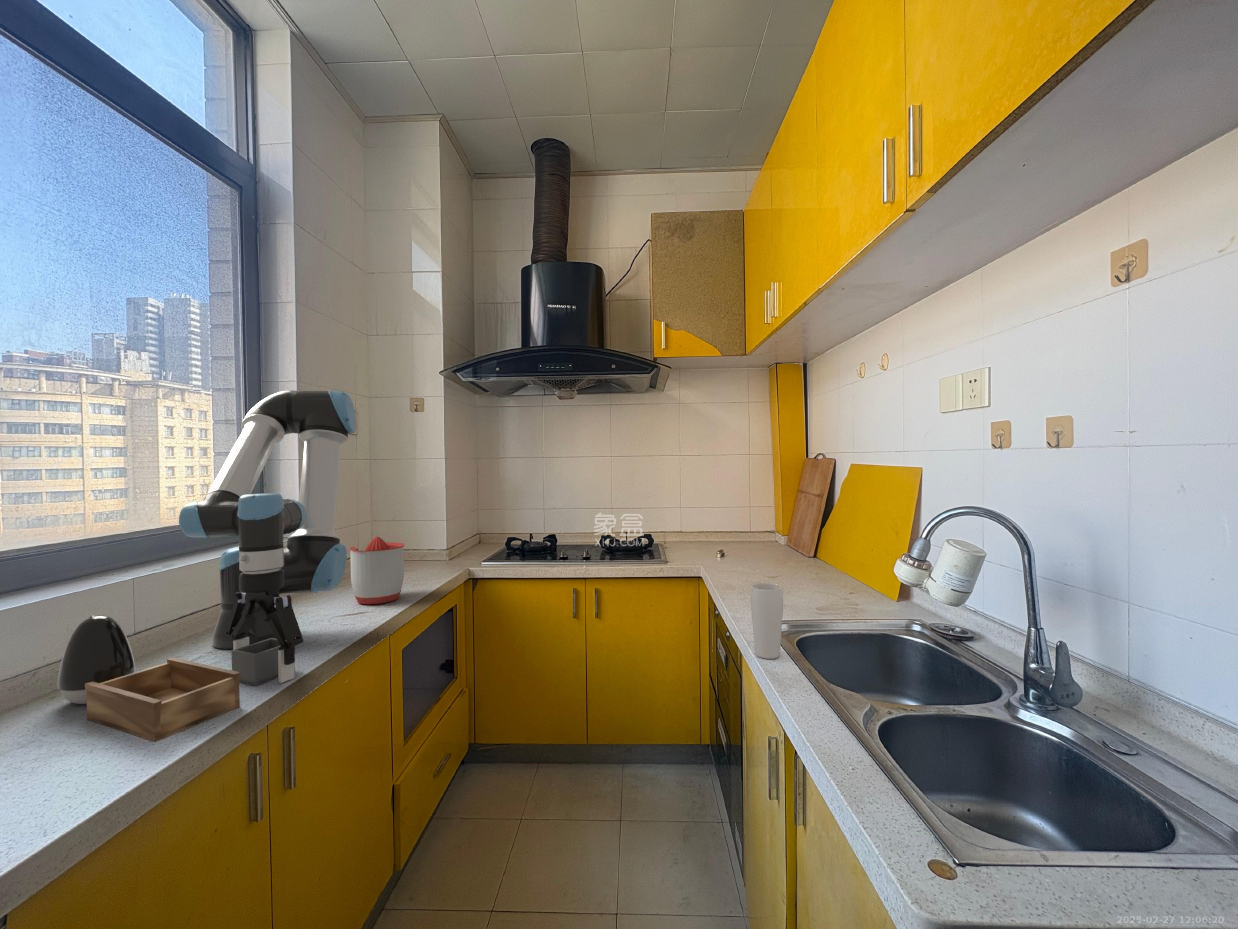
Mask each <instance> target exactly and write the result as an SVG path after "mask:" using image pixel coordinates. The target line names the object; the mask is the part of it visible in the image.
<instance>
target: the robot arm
mask: <svg viewBox="0 0 1238 929" xmlns="http://www.w3.org/2000/svg"><path fill="white" fill-rule="evenodd" d="M241 430H242V431H241V433H240V435H239V437H238V438H237V440H236V442H235V443H234V445H233V447H232V448H231V450H230V453H229V454H228V456H227V457H226V460H225V461H224V463H223V465H222V467H221V468H220V470H219V472H218V474H217V475H216V477H215V479H214V481H213V483H212V485H211V486H210V488H209V490H208V492H207V493H206V495H205V497H203V500H202V501H195V502H189V503H186V504H184V505H183V506H182V508H181V510H180V512H179V515H178V526H179V529H180V530H181V531H182V533H183V534H184V535H185V536H187V537H188V538H201V539H202V538H206V539H210V538H225V537H238V546H235V547H231V548H228V549H225V550H224V551H223V552H222V553H221V555H220V560H219V561H220V562H219V568H218V570H219V582H220V583H219V584H220V587H219V588H220V613H219V616H218V619H217V622H216V625H215V628H214V631H213V633H212V636H211V637H212V639H211V640H212V643H211V644H212V647H214V648H216V649H225V650H231V649H232V650H235V649H238V648H241V647H244V646H248V645H251V644H254V643H257V642H260V641H263V640H266V639H270V638H275V639H277V640H278V642H279V644H280V646H281V647H279V649H278V678H277V679H278V683H280V684H282V683H284V682H288V681H289V680H292V679H295V671H294V662H296V646H297V645H300V644H303V643H304V638H303V635H302V632H301V629H300V626H299V622H298V620H297V617H296V614H295V611H294V608H293V605H292V596H291V595H292V594H304V593H305V594H307V593H313V594H318V593H322V592H323V593H324V592H330V591H333V590H335V589H336V588H337V587H338V586H339V585H340V583H341V581H342V580H343V577H344V575H345V572H346V567H347V562H348V556H347V554H348V553H347V548H346V546H345V545H344V544H343V543H341V542H340V541H341V538H340V537H339V536H338V535H337V534H336V533H335V523H336V522H335V521H336V520H335V519H336V511H337V510H336V509H337V497H338V485H339V473H340V463H341V462H340V460H341V450H342V446H344V445H345V444H346V443H348V439H349V438H348V437H349V435H352V434H355V433H356V430H357V416H356V410H355V406H354V403H353V401H352V399H351V396H350V395H349V394H348V393H347V392H345V391H336V390H330V389H329V390H293V389H292V390H289V389H288V390H282V391H277V392H276V393H273V394H270V395H268V396H267V397H265V398H263V399H262V400H260V401H259V402H257V403H256V404H255V405H254V406H253V407H252V408H250V410H249V411H248V412H247V413H246V415H245V417H244V418H243V420H242V421H241ZM289 434H298V438H299V439H300V440H301V441H302V443H304V445H303V446H304V447H303V455H302V457H303V458H302V464H301V474H300V475H301V476H300V483H299V484H300V485H299V495H298V500H295V499H289V498H287V499H284V498H283V496H282V495H281V494H280V493H276V492H273V493H272V492H271V493H269V492H268V493H252V492H253V490H254V488H255V485H256V484H257V482H258V480H259V478H260V476H261V473H262V472H263V469H264V468H265V466H266V464H267V461H268V459H269V457H270V456H271V453H272V452H273V449H274V447H275V445H276V444H277V443H280V442H281V441H282V440H283V439H284V437H285V435H289ZM291 533H292V534H291ZM287 534H291V535H289V536H288V537H287V541H286V542H287V543H286V546H284V535H287ZM290 594H291V595H290ZM281 595H283V596H281ZM285 640H286V641H287V642H286V641H285Z"/></svg>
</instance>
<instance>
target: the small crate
mask: <svg viewBox="0 0 1238 929" xmlns="http://www.w3.org/2000/svg"><path fill="white" fill-rule="evenodd" d="M285 641H286V640H285ZM286 642H287V641H286ZM279 647H281V646H280V644H279V642H278V640H277V639H275V638H270V639H266V640H263V641H260V642H257V643H254V644H251V645H248V646H244V647H241V648H238V649H235V650H233V649H232V650H231V670H232V671H237V672H241V678H239V683H240V684H244V685H248V686H252V687H257V686H260V685H262V684H264V683H267V682H269V681H272V680H275V679H279V678H278V649H279ZM295 662H296V661H295ZM295 662H294V672H296V671H295V670H296V669H295V668H296V667H295V666H296V665H295V664H296V663H295Z"/></svg>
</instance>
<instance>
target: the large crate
mask: <svg viewBox="0 0 1238 929" xmlns="http://www.w3.org/2000/svg"><path fill="white" fill-rule="evenodd" d="M239 678H241V672H237V671H232V669H227V668H223V667H220V666H219V667H217V666H215V665H214V666H213V665H209V664H204V663H200V662H195V661H192V660H188V659H187V660H186V659H183V658H182V659H181V658H177V657H170V658H167V659H166V662H165V663H161V664H158V665H154V666H151V667H149V668H145V669H143V670H142V669H141V670H139V671H135V672H134V673H132V674H128V675H125V676H122V677H118V678H115V679H112V680H109V681H105V682H102V683H96V682H89V683H86V684H85V690H87V704H86V720H87V721H90V722H93V723H97V724H98V725H103V726H105V727H108V728H111V729H114V730H117V731H120V732H123V733H126V734H129V735H132V736H135V737H139V738H140V739H144V740H147V741H150V742H153V743H156V742H159V741H161V740H164V739H166V738H168V737H170V736H173V735H176V734H178V733H180V732H183V731H185V730H188V729H190V728H192V727H195V726H197V725H199V724H202V723H204V722H207V721H210V720H211V719H214V718H217V717H219V716H221V715H225V714H227V713H229V712H231V711H233V710H236V709H237V708H241V696H240V694H241V692H240V691H241V690H240V688H241V687H240V684H241V683H239Z"/></svg>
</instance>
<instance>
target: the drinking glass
mask: <svg viewBox="0 0 1238 929" xmlns="http://www.w3.org/2000/svg"><path fill="white" fill-rule="evenodd" d="M783 589H784V587H783V586H782V585H780V584H778V583H771V582H757V583H752V584H751V586H750V611H751V620H752V629H753V631H752V632H753V639H754V640H753V641H754V654H755V655H756V657H759V658H761V659H765V660H774V659H775V660H776V659H778V658H779V657H780V656H781V642H782V641H781V640H782V628H783V627H782V626H783V616H784V590H783Z"/></svg>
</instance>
